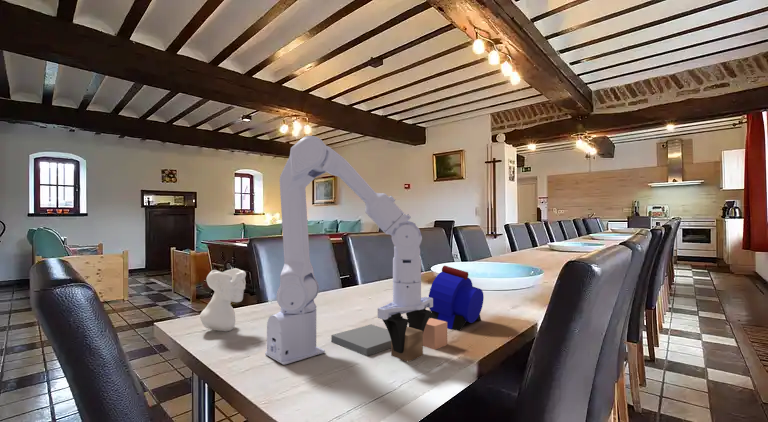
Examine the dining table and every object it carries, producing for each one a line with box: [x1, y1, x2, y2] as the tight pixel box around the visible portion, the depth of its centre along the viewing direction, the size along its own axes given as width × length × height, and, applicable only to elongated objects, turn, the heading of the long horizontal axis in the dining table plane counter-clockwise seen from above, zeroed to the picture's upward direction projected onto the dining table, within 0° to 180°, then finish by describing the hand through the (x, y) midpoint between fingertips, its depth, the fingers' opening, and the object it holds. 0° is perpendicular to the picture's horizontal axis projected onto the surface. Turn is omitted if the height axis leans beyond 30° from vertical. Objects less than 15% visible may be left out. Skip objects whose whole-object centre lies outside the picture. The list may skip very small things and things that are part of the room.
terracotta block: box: [423, 318, 448, 351], centre depth 80 cm, size 4×4×5 cm
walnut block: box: [390, 325, 424, 363], centre depth 73 cm, size 4×4×5 cm
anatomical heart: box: [199, 267, 247, 332], centre depth 90 cm, size 10×11×15 cm
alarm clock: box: [428, 265, 484, 332], centre depth 97 cm, size 12×12×15 cm
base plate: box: [330, 324, 391, 357], centre depth 82 cm, size 12×12×2 cm
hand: (407, 348), depth 73 cm, fingers closed on walnut block, 4 cm apart
